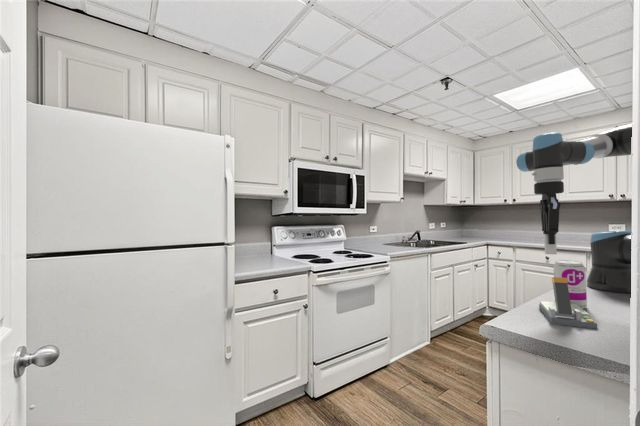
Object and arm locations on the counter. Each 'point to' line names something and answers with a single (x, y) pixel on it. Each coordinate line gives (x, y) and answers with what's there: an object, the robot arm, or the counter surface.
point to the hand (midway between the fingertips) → (550, 253)
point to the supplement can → (573, 280)
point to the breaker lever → (562, 297)
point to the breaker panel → (579, 320)
